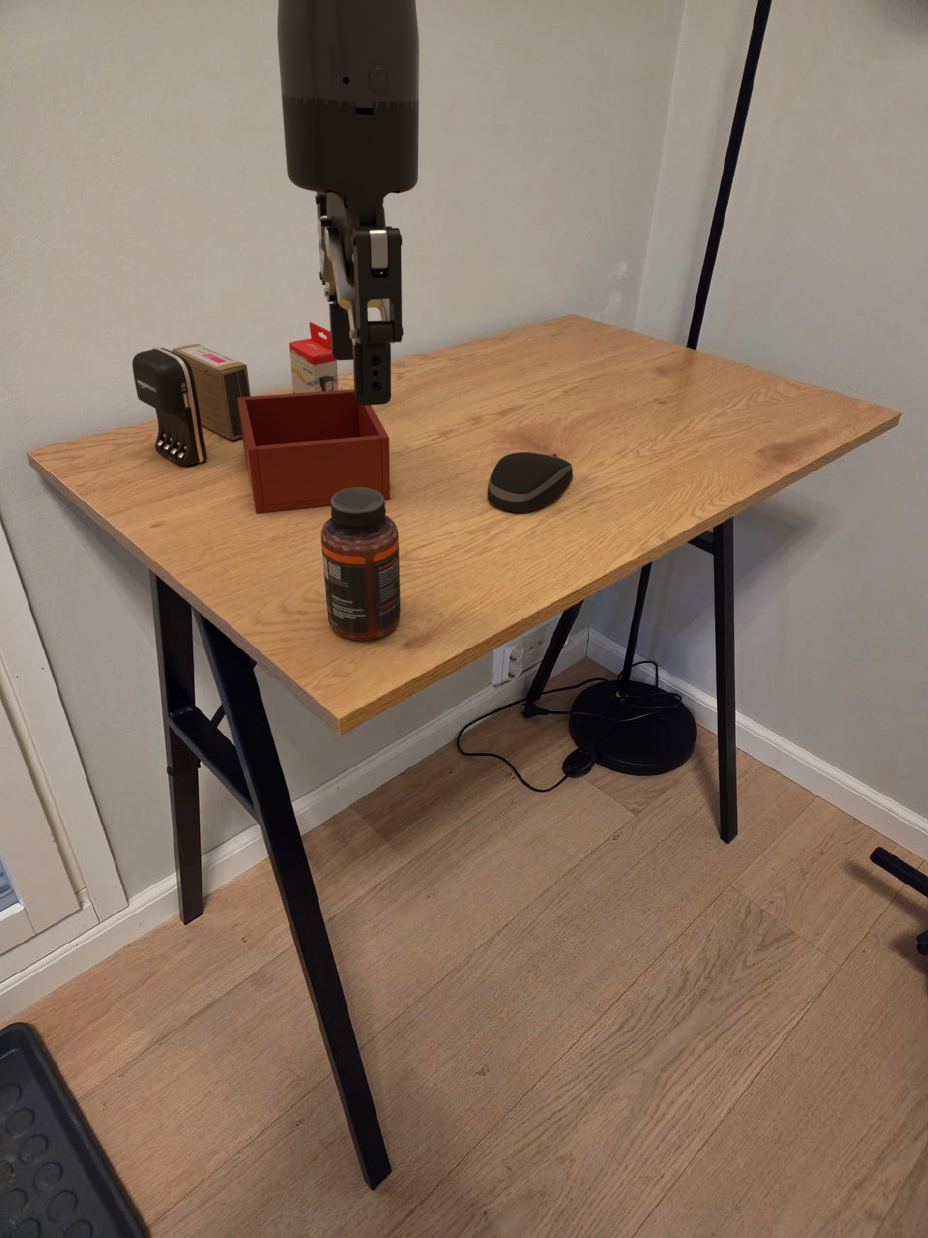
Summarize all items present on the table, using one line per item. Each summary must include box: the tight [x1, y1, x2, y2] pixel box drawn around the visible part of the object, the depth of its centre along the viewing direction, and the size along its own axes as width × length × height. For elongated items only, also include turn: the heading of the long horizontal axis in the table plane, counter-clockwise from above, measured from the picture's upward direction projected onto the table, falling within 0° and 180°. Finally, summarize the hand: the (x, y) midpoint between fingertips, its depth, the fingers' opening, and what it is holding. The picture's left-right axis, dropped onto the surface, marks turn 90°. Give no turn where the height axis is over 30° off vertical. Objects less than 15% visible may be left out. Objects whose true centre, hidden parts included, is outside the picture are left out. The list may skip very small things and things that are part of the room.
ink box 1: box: [171, 343, 252, 441], centre depth 92 cm, size 10×4×8 cm, turn 46°
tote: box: [237, 388, 391, 514], centre depth 83 cm, size 14×14×7 cm
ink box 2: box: [288, 321, 339, 394], centre depth 97 cm, size 6×3×10 cm, turn 40°
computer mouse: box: [487, 451, 574, 513], centre depth 84 cm, size 7×12×4 cm, turn 146°
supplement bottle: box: [320, 487, 402, 641], centre depth 61 cm, size 6×6×11 cm
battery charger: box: [131, 347, 208, 467], centre depth 84 cm, size 7×4×11 cm, turn 47°
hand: (359, 379), depth 53 cm, fingers open, 8 cm apart
